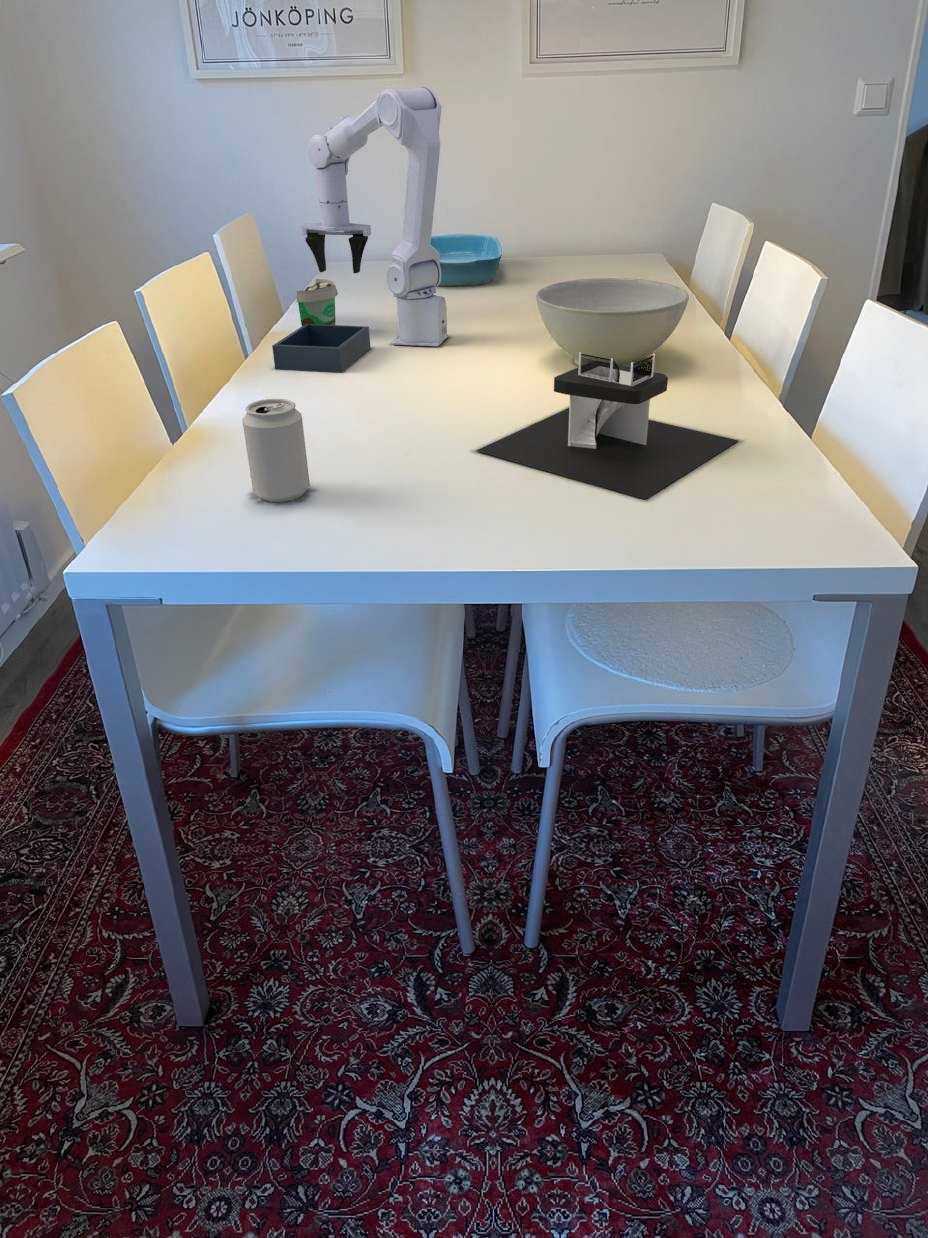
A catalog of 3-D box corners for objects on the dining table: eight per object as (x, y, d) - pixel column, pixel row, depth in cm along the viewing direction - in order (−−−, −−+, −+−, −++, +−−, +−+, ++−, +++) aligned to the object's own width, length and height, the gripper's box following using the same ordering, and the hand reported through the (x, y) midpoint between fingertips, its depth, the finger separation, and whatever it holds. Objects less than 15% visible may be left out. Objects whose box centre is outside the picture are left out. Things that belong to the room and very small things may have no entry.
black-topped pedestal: (475, 451, 135) (474, 358, 128) (578, 404, 152) (582, 320, 145) (645, 500, 119) (654, 397, 112) (738, 441, 136) (751, 349, 129)
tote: (370, 348, 183) (368, 326, 181) (341, 372, 170) (339, 348, 168) (308, 345, 186) (305, 323, 184) (274, 368, 173) (271, 345, 171)
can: (256, 483, 127) (243, 396, 120) (312, 480, 127) (302, 393, 121) (250, 506, 120) (236, 415, 114) (309, 503, 121) (298, 412, 114)
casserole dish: (504, 289, 226) (504, 257, 222) (411, 291, 226) (410, 260, 223) (498, 259, 258) (498, 231, 254) (417, 261, 258) (416, 234, 254)
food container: (330, 343, 187) (325, 291, 182) (301, 342, 188) (295, 291, 183) (349, 328, 197) (345, 278, 192) (321, 327, 198) (316, 278, 193)
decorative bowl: (697, 349, 178) (704, 283, 171) (660, 390, 157) (667, 317, 151) (563, 336, 187) (565, 273, 181) (512, 374, 167) (512, 304, 160)
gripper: (292, 203, 188) (300, 274, 195) (360, 204, 184) (365, 276, 191) (306, 198, 193) (313, 267, 200) (372, 199, 190) (377, 269, 197)
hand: (339, 271), depth 196 cm, fingers open, 7 cm apart
